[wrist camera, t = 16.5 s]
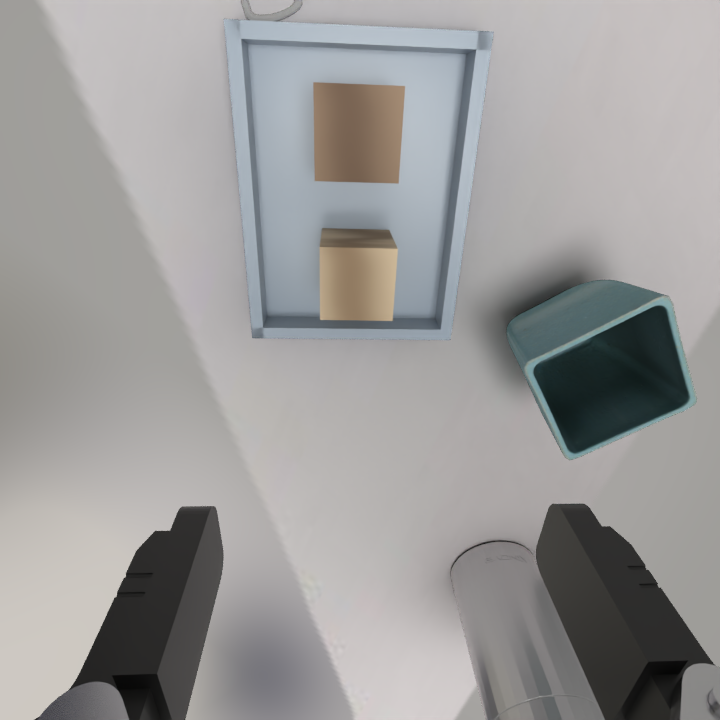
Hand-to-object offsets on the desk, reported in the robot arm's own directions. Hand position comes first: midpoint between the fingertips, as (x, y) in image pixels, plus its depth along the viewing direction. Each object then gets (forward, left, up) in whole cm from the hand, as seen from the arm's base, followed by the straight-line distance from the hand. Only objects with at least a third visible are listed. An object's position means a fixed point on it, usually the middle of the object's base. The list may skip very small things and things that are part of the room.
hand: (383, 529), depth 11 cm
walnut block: (+8, 0, -23) cm, 24 cm away
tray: (+4, 0, -24) cm, 24 cm away
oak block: (0, 0, -23) cm, 23 cm away
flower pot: (-5, -16, -24) cm, 30 cm away
